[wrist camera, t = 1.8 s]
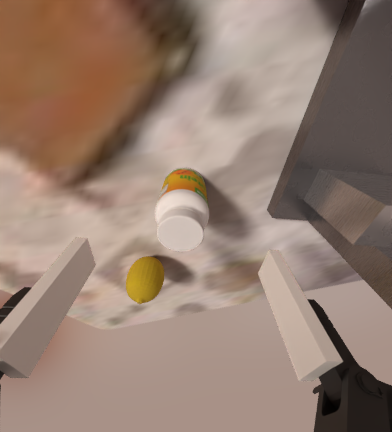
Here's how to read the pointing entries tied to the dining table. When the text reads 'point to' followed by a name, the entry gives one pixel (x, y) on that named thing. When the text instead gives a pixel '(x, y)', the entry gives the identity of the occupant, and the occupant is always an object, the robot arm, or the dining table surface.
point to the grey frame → (348, 148)
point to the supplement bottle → (182, 210)
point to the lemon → (145, 279)
